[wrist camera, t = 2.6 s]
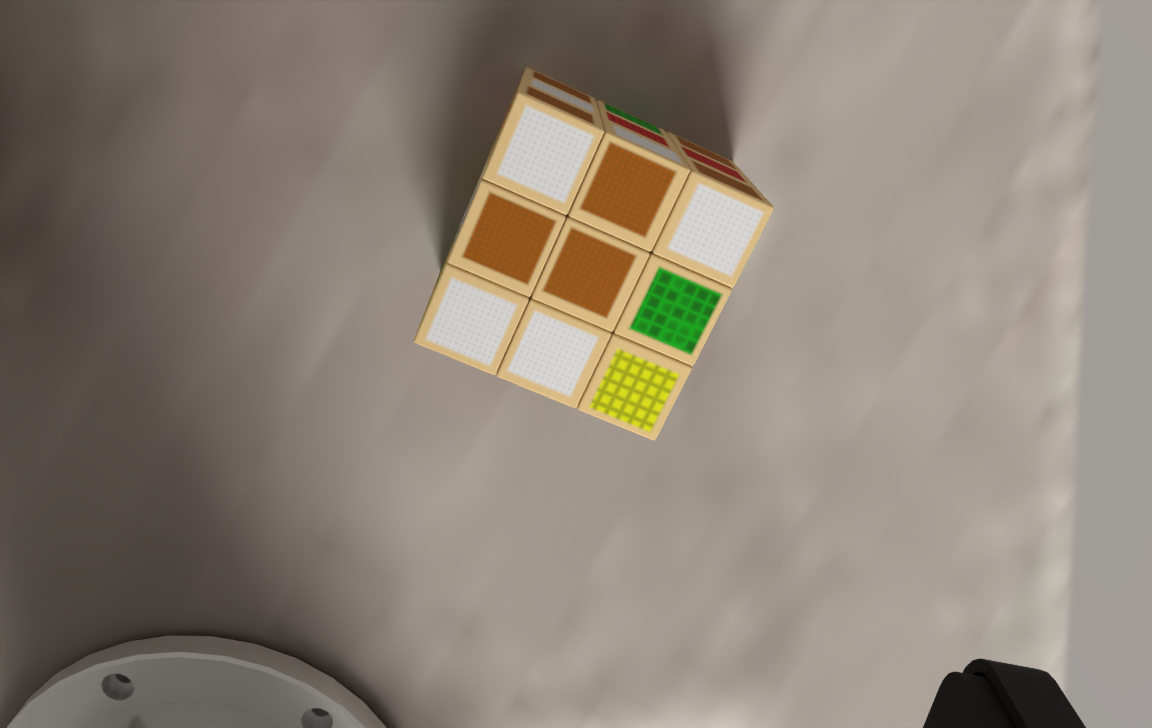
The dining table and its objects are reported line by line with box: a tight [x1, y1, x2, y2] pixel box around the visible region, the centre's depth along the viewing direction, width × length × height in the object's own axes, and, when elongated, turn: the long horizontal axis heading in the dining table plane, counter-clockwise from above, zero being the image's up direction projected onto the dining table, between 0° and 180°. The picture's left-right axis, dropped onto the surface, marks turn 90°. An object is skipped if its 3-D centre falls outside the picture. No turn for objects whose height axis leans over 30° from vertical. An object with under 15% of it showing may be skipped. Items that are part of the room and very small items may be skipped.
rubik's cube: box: [414, 68, 774, 440], centre depth 25 cm, size 6×6×6 cm
